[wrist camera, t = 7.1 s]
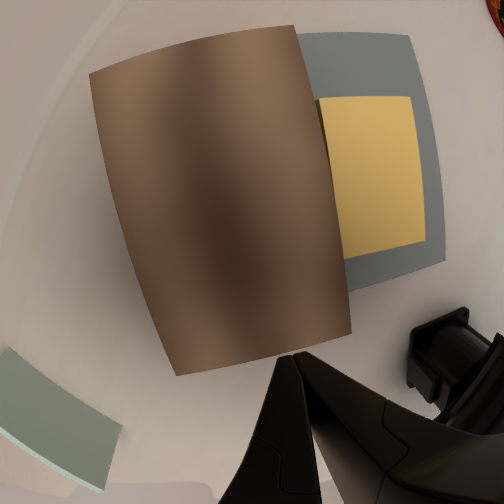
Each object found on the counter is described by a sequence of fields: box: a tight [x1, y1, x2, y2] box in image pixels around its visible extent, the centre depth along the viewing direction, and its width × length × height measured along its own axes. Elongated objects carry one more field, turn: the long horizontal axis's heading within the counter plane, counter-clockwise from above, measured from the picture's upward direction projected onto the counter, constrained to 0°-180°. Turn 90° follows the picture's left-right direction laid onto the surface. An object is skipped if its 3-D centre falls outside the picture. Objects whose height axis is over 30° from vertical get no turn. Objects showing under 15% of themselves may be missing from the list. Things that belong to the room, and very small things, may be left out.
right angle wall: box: [0, 348, 122, 494], centre depth 18 cm, size 12×12×8 cm
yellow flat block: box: [315, 96, 425, 259], centre depth 17 cm, size 6×9×2 cm, turn 10°
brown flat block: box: [89, 25, 352, 376], centre depth 17 cm, size 11×18×3 cm, turn 13°
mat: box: [296, 32, 445, 292], centre depth 18 cm, size 10×17×1 cm, turn 13°
